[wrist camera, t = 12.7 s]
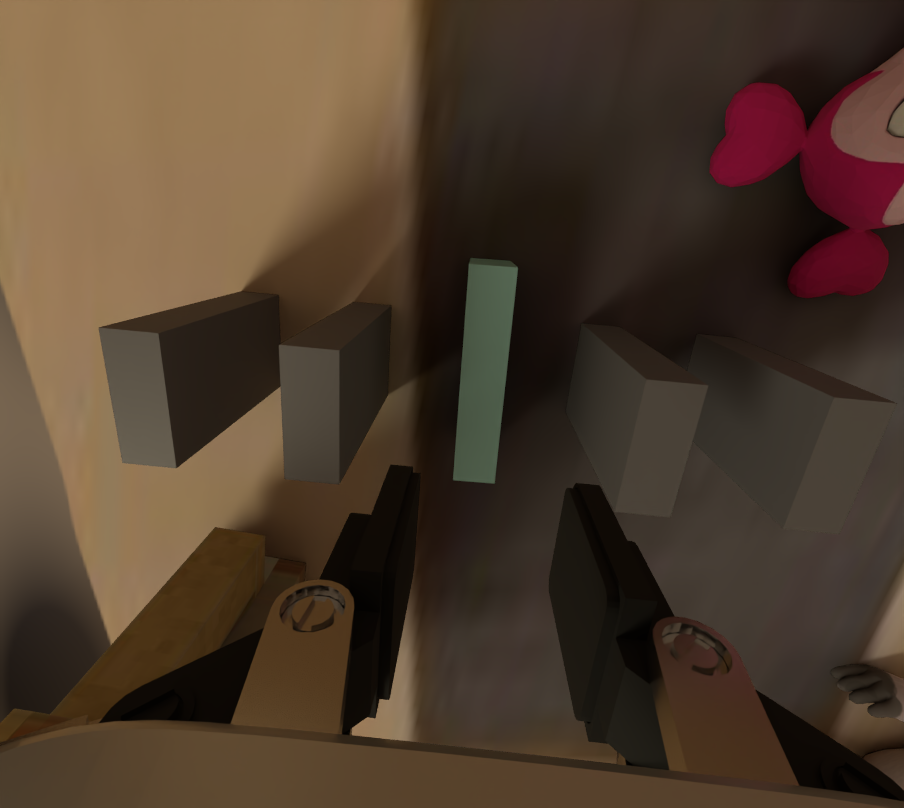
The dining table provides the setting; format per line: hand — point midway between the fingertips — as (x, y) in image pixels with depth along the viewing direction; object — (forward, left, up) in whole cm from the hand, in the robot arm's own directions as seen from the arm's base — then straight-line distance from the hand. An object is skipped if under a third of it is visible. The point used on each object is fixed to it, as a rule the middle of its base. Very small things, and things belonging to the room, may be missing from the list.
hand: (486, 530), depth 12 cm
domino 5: (0, -12, -15) cm, 19 cm away
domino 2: (0, +6, -15) cm, 16 cm away
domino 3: (+6, 0, -13) cm, 14 cm away
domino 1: (0, +12, -15) cm, 19 cm away
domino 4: (0, -6, -15) cm, 16 cm away
